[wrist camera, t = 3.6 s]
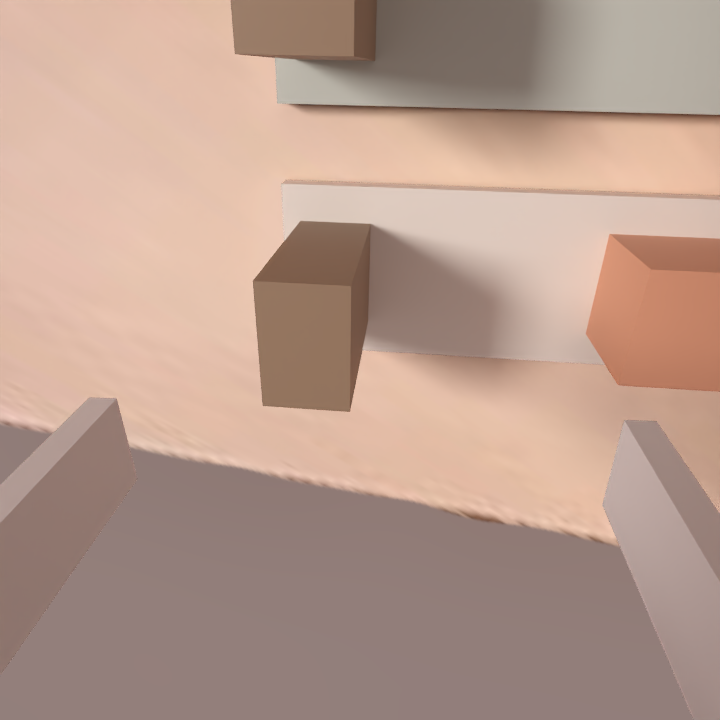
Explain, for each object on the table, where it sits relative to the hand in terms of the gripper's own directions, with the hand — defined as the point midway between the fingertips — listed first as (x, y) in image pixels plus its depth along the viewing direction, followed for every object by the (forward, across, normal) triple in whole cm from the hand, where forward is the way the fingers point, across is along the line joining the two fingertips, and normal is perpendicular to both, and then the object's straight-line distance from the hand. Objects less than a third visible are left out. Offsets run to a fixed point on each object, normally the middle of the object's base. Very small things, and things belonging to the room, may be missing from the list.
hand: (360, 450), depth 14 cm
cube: (+19, +15, -2) cm, 24 cm away
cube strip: (+20, +8, -2) cm, 22 cm away
